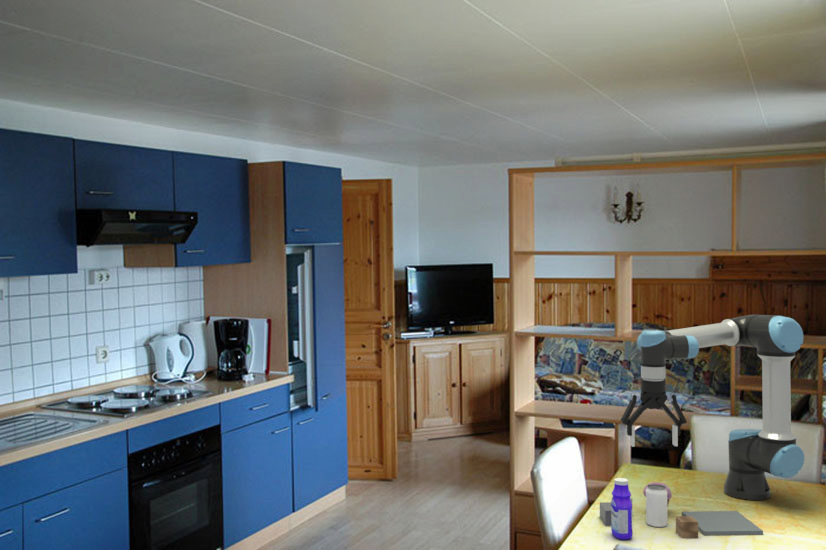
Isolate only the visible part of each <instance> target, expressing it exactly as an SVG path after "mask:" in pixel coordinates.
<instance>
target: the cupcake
mask: <svg viewBox="0 0 826 550" xmlns="http://www.w3.org/2000/svg"><path fill="white" fill-rule="evenodd" d="M650 484H659V485H663V486H665V487H666V491H667V508H668V507H669V503H670V500H671V499H672V496H673V495H672V491H671V489H670V487H669V486H668V485H667V484H666V483H663V482H655V481H654V482H653V481H652V482H649V483H648V484H647V485H645V486H644V487H643V490H642V491H643V496H644V497H645V498H646V489H647V486H648V485H650Z"/></svg>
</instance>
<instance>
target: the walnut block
mask: <svg viewBox="0 0 826 550" xmlns="http://www.w3.org/2000/svg"><path fill="white" fill-rule="evenodd" d="M675 533H676V534H677V535H678V536H679V537H680V538H681V539H699V530H698V521H697V520H696V519H694V518H693V517H692V516H682V515H678V516H677V515H676V516H675Z"/></svg>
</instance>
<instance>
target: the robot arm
mask: <svg viewBox="0 0 826 550" xmlns="http://www.w3.org/2000/svg"><path fill="white" fill-rule="evenodd" d="M636 341H637V343H636V345H637V348H638V350H639V351H640V378H641V379H640V395H639V394H634V393H631V394H630V399H629V400H630V401H629V402H628V404H627V406H626V409H625V411H624V413H623V415H622V417H621V419H620V422H621V423H622V424H624V425H626V435H627V436H629V445H630V446H631V447H632V448H633V447H636V444H635V443H636V441H635V440H636V439H635V437H636V436H635V433H636V432H635V430H636V429H635V428H636V427H635V425H634V423H635V422H636V421H637V420H638V418H640V417H641V415H642V414H643V413H644V412H645V411H646V410H647V409H649V410H652V409H656V410H660V409H662V410H663V411H664V412H665V414H666V415H667V416H668V417H669V418H670V419H671V420H672V421H673V424H671V425H672V426H671V427H672V429H671V430H672V434H671V435H672V439H671V441H672V445H673V446H674V447H678V445H679V444H678V443H679V442H678V441H679V438H678V437H679V436H681V431H682V429H681V428H682V425H684V424H687V419H686V417H685V415H684V412H683V411H682V409H681V407H680V405H679V403H678V400H677V395H676V394H674V393H672V392H671V393H670V394H666V393H667V392H666V391H667V388H666V385H667V384H666V383H667V382H666V381H665V380H666V378H667V377H666V373H667V371H666V367H667V366H666V365H667V364H666V363H667V362H666V361H671V360H689V359H694V358H696V357H697V356H698V354H699V351H700V349H701V348H709V347H714V346H715V347H716V346H721V345H726V346H728V347H734V346H741V347H742V346H743V347H751V348H755V349H756V355H757V357H759V359H760V360H761V364H762V365H761V366H762V367H761V369H762V371H761V373H762V374H761V377H762V379H761V380H762V381H761V382H762V383H761V385H762V386H761V389H762V390H761V391H762V393H761V395H762V429H758V428H740V429H738V428H737V429H733V430H731V431H729V434H728V441H727V442H728V465H729V466H728V473H727V475H726V478H725V480H724V484H723V493H725V495H727V496H729V497H732V498H736V499H739V498H740V500H745V499H747V500H748V501H764V499H765V500H768V499H770V498H771V489H770V488H771V487H770V485H769V483H768V479H767V477H766V473H767V474H770V475H773V476H774V477H778V478H784V479H789V478H793V477H795V476H797V475H798V473H799V471H801V470H802V468H803V467H804V463H805V453H804V451H803V450H802V448H801V447H800V446H799V445H798V444H797V436H796V435H795V434H794V433H793V432H792V416H791V415H792V411H791V410H792V408H791V406H792V405H791V404H792V402H791V401H792V400H791V398H792V395H791V390H792V389H791V361H793V359H794V358H795V357H796V352H797V351H799V350H800V348H801V346H802V345H803V344H804V331H803V329H802V327H801V325H800V324H799V323H798V322H797V321H796V320H795V319H793V318H791V317H788V316H784V315H767V314H748V315H743V316H737V317H733V318H726V319H723V320H722V321H721V322H717V323H711V324H705V325H704V324H703V325H698V326H691V327H685V328H678V329H677V328H676V329H670V330H665V331H664V330H654V329H653V330H652V329H651V330H644V331H641V333H640V334H639V336H637V339H636ZM639 400H640V401H641V403H640V404H639V406H638V408H636V409H635V411H634V412H633V410H634V408H635V406H636V404H637V402H639ZM667 400H668V401H669V402H670V404H671V406H672V407H673V409H674V411H675V413H676V415H677V417H678V418H677V417H676V415H675V414H674V413H673V412H672V410H671V409H670V408H669V407H668V406H667V405H666V404H665V403H666V401H667ZM769 497H770V498H769ZM767 498H768V499H767Z"/></svg>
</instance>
